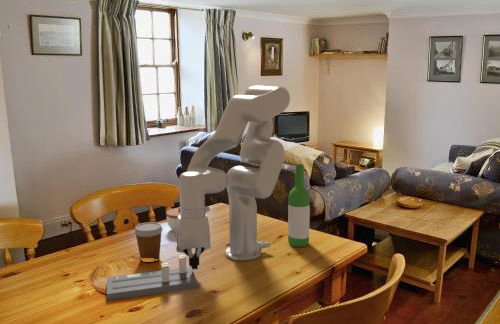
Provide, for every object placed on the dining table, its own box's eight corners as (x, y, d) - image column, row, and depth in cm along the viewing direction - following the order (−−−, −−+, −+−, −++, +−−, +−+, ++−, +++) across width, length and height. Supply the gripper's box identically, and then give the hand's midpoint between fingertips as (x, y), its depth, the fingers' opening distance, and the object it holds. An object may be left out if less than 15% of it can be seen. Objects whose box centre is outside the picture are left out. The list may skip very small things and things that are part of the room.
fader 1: (168, 278, 143) (167, 262, 142) (169, 281, 141) (168, 265, 140) (161, 278, 143) (161, 263, 142) (162, 282, 140) (161, 266, 139)
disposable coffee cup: (157, 266, 157) (156, 232, 155) (131, 264, 159) (129, 230, 157) (168, 254, 166) (166, 222, 164) (142, 252, 168) (141, 220, 166)
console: (191, 272, 152) (191, 266, 152) (197, 287, 142) (197, 281, 142) (107, 283, 145) (107, 277, 145) (107, 300, 135) (106, 293, 135)
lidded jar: (191, 234, 186) (191, 211, 184) (164, 234, 186) (163, 211, 184) (195, 225, 196) (194, 203, 194) (169, 225, 196) (168, 203, 194)
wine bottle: (288, 239, 180) (289, 162, 173) (309, 240, 178) (310, 163, 172) (287, 247, 172) (287, 167, 166) (308, 248, 171) (310, 167, 165)
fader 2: (185, 269, 149) (184, 254, 148) (186, 272, 147) (186, 257, 146) (179, 270, 149) (178, 255, 147) (180, 273, 146) (179, 258, 145)
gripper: (214, 206, 150) (215, 260, 154) (166, 210, 146) (168, 265, 150) (219, 213, 143) (220, 269, 147) (169, 218, 139) (171, 275, 143)
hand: (194, 267), depth 148 cm, fingers closed
